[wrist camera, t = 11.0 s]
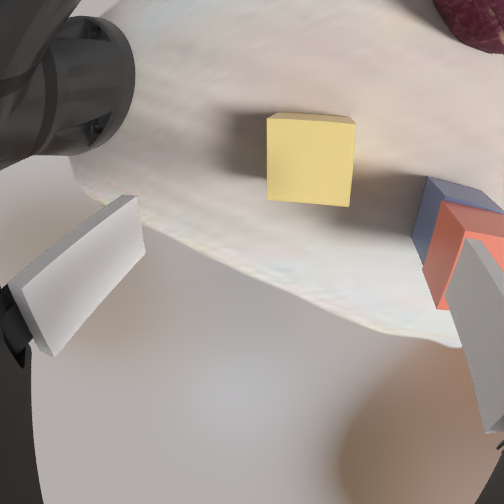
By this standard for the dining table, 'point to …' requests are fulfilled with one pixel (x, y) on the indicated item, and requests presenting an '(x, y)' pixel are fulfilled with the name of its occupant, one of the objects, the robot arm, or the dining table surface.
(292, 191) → the mustard brick
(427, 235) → the blue cube
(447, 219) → the red brick
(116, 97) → the robot arm
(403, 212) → the dining table surface
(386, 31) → the dining table surface
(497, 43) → the vegetable
